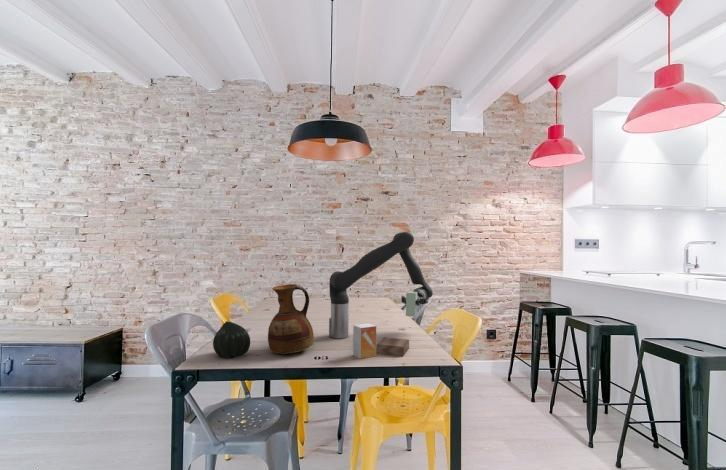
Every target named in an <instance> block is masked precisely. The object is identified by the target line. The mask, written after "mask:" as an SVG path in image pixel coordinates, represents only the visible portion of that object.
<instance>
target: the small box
mask: <svg viewBox="0 0 726 470" xmlns="http://www.w3.org/2000/svg"><path fill="white" fill-rule="evenodd" d="M352 327H353V328H352V331H353V334H352V336H353V337H352V340H353V342H352V344H353V345H352V355H353V356H354V357H356V358H358V359H361V360H362V359H366V358H372V357H376V356H377V325H374V324H372V323H361V324H353V326H352Z"/></svg>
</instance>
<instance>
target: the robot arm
mask: <svg viewBox="0 0 726 470" xmlns="http://www.w3.org/2000/svg"><path fill="white" fill-rule="evenodd" d="M414 240H415V238H414V235H413V234H412V233H411V232H409V231H403V232H397V233H396V234H395V235H393V238H392V240H391V241H390V242H388V243H386V244H384V245H381V246H379V247H376V248H375V249H373V250H371V251H369V252H368V253H366V254H365V255H363V256H362V257H361V258H360V259H359V260H358V261H357V262H356V264H354V265H353V266H352V267H350V268H347V269H346V270H344V271H339V270H338V271H335V272H333V273H331V275H330V278H329V283H328V284H329V298H330V317H329V318H328V319H329V320H328V338H333V339H346V338H349V333H350V332H349V329H350V328H349V326H350V325H349V320H350V319H349V317H350V316H349V315H350V313H349V312H350V308H349V302H350V300H349V296H348V292H347V291H348V290H347V289H349V288H350V287H351V286H352V285H354V284H355V283H356V282H357V281H359V280H360V279H361V278H363V277H365V276H366V275H367V274H369V273H371V272H373V271H375V270H376V269H377V268H379V267H381V266H382V265H384V264H385V263H386V262H388V261H389V260H391V259H392V258H393V257H394V256H395V255H397V254H399V256H400V258H401V259H402V262H403V264H404V265H405V268H406V270H407V273H408V275H409V278H410V281H411V283H412V284H413V285H415V286H416V285H421V286H420V287H417V288H415V289H413V290H412V292H417V300H416V301H415V305H417V307H419V306H420V305H425V304H428V303H429V299H430V298H432V296H433V292H434V291H433V289H432V287H431V286H430V284H428V282H427V281H426V279H425V277H424V275H423V272H422V269H421V267H420V266H419V264H418V263H417V261H416V260H415V258H414V257H413V255H412V253H411V251H410V247H412V245H413V244H414V242H415V241H414ZM400 301H401V303H402V304H404V305H406V296H405V295H401V299H400Z"/></svg>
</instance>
